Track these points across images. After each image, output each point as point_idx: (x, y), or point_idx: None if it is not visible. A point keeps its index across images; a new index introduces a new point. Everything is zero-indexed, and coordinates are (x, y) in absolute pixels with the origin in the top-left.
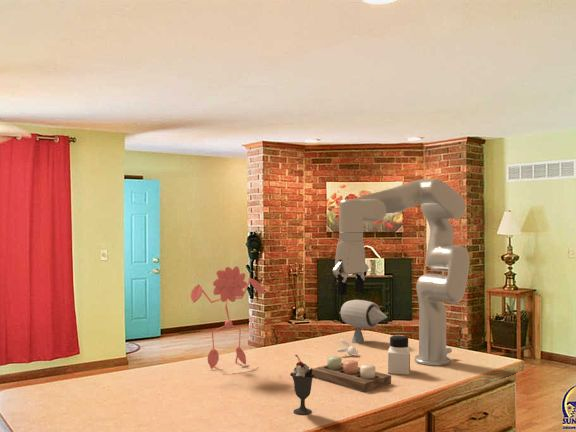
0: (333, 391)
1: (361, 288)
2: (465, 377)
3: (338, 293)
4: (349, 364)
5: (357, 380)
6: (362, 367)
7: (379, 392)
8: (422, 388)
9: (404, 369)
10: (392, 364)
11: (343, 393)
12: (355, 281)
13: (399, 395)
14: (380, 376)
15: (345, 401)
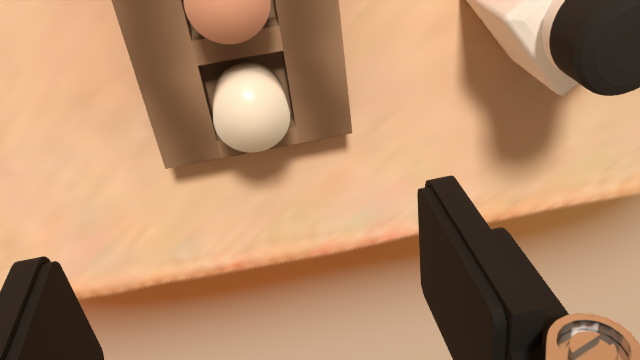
0: (45, 77)
1: (440, 326)
2: (624, 185)
3: (15, 270)
4: (197, 28)
5: (165, 121)
6: (214, 121)
7: (223, 176)
8: (394, 209)
9: (509, 52)
10: (488, 18)
11: (76, 120)
12: (486, 308)
13: (264, 230)
14: (301, 122)
15: (31, 199)
